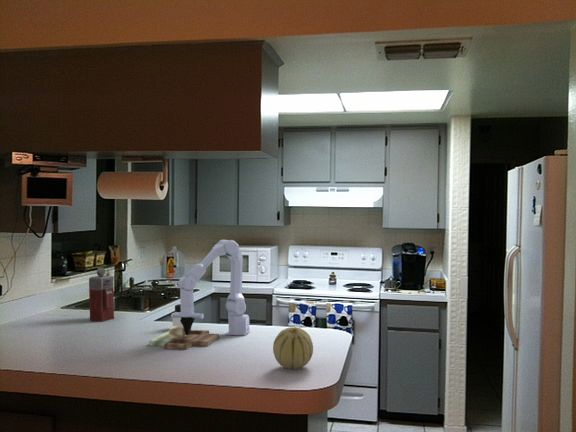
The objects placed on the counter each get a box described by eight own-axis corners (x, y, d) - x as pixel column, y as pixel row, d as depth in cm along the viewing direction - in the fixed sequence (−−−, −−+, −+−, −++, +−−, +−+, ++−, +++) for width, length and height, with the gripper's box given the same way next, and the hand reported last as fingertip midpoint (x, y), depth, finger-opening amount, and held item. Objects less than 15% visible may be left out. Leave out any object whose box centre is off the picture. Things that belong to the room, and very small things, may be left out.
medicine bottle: (187, 330, 251) (186, 305, 251) (172, 330, 251) (172, 305, 251) (190, 327, 258) (189, 303, 258) (176, 327, 258) (175, 303, 258)
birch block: (187, 335, 232) (187, 326, 232) (181, 338, 227) (181, 329, 227) (175, 334, 234) (174, 325, 234) (169, 338, 228) (169, 328, 228)
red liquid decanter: (106, 322, 275) (104, 269, 274) (89, 320, 279) (88, 268, 279) (117, 318, 283) (116, 267, 283) (101, 317, 287) (100, 266, 287)
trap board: (223, 335, 240) (223, 330, 240) (202, 350, 214) (202, 345, 214) (171, 333, 245) (170, 329, 245) (144, 348, 219) (144, 343, 219)
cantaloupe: (297, 359, 197) (296, 320, 197) (322, 368, 185) (321, 326, 185) (264, 367, 188) (264, 326, 188) (289, 377, 176) (288, 333, 176)
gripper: (167, 305, 227) (168, 336, 227) (199, 305, 224) (199, 337, 224) (174, 302, 234) (175, 332, 234) (205, 302, 231) (205, 333, 231)
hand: (187, 334), depth 229 cm, fingers closed
